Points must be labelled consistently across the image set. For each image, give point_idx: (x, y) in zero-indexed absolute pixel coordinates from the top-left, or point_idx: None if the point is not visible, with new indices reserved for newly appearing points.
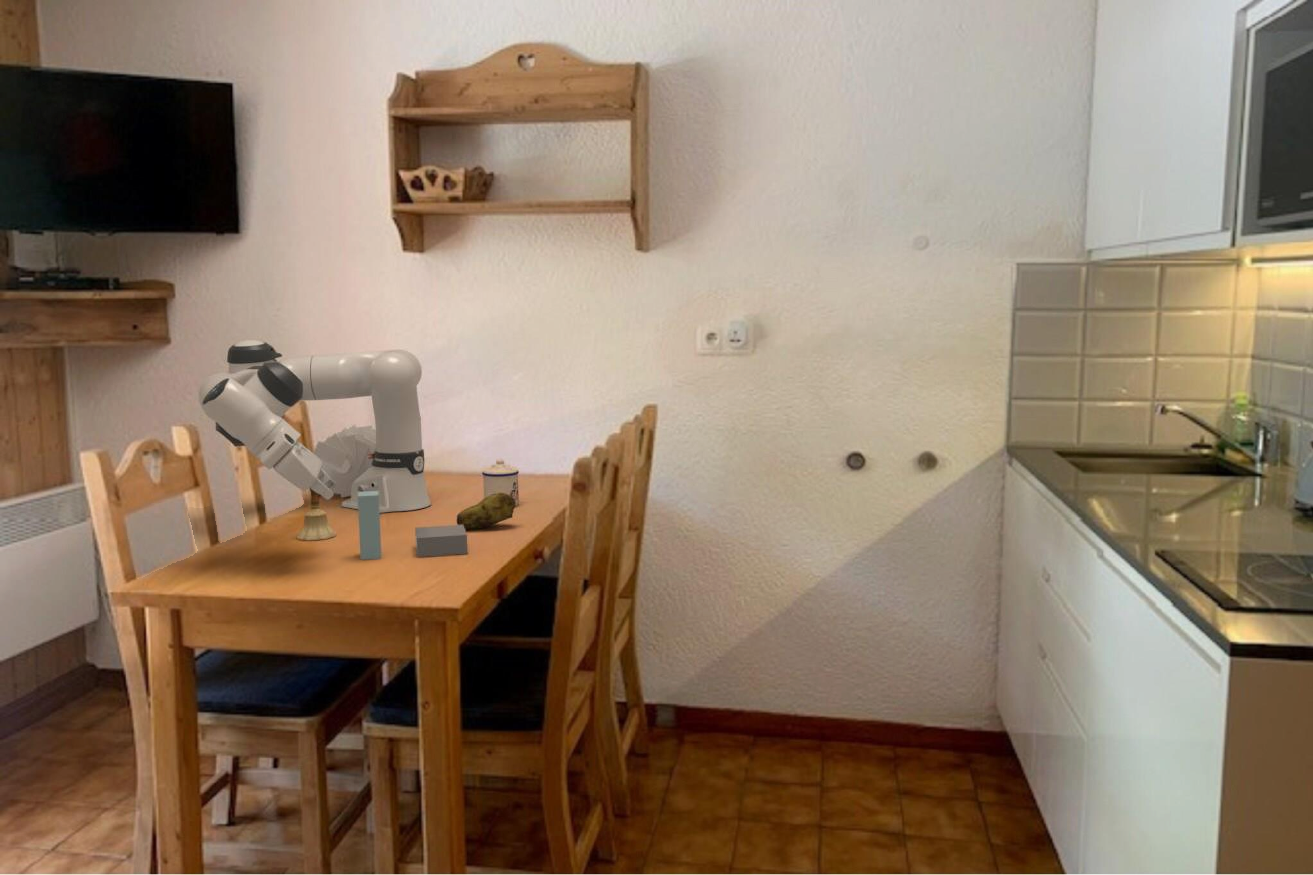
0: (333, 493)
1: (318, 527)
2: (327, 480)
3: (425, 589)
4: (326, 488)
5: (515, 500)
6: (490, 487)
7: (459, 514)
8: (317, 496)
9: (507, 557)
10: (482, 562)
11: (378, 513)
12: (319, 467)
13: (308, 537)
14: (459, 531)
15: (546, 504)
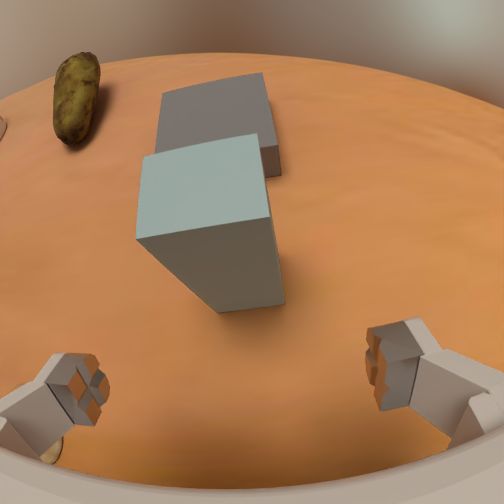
0: (402, 320)
1: None
2: (52, 401)
3: (496, 152)
4: (450, 354)
5: (1, 117)
6: None
7: (69, 126)
8: None
9: (299, 59)
10: (331, 81)
11: (266, 185)
12: (82, 489)
13: (55, 447)
14: (226, 85)
15: (17, 97)
